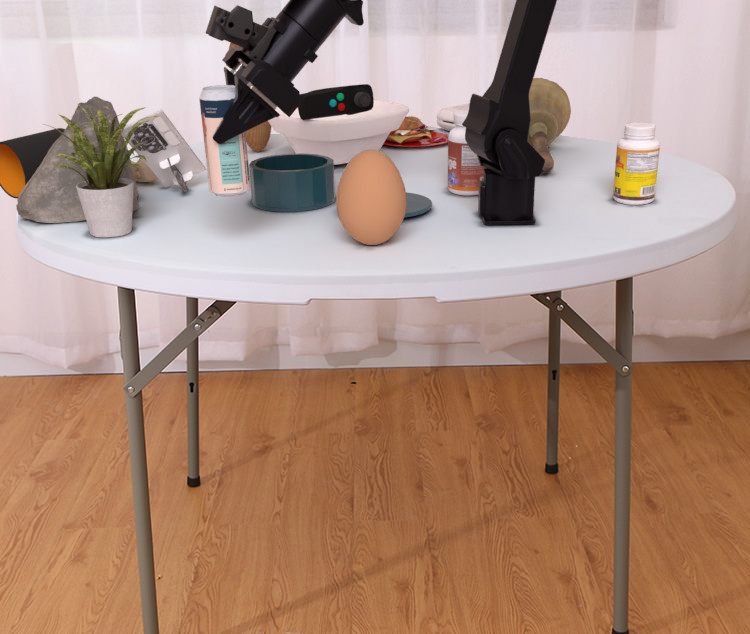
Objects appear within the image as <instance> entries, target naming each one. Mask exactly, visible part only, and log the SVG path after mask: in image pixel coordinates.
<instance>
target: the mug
mask: <svg viewBox="0 0 750 634" xmlns="http://www.w3.org/2000/svg"><path fill="white" fill-rule="evenodd" d="M56 129H58V130H59V131H61V132H62V133H63V132H64V130H65V129H66V128H63V127H57V128H56ZM56 129H54V128H52V129H49V130H44V131H40V132H36V133H31V134H28V135H23V136H18V137H15V138H10V139H7V140H2V141H0V188H1V190H3V192H4V193H5V194H6V195H8V196H9V197H10V198H13V199H18V197H19V195H20V193H21V191H22V190H23V188H24V186H25V185H26V184H27V182H28V181H29V180H30V179H31V178H32V176H33V174H34V173H35V172H36V170H37V168H38V167H39V166H40V165H41V163H42V161H43V159H44V158H45V156H46V155H47V153H48V151H49V149H50V148H51V147H52V145H53V144H54V142H55V141H56V140H57V139H58V138H59V137H60V136H61V135H62V134H61V133H60V132H59V131H58V130H56Z"/></svg>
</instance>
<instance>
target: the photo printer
mask: <svg viewBox="0 0 750 634" xmlns="http://www.w3.org/2000/svg"><path fill="white" fill-rule="evenodd" d="M469 105H470V102H469V103H465V104H459V105H454V106H447V107H444V108H441V109H440V110H438V112H437V113H436V124H437V126H438V127H440V128H441V129H442V130H444V131H448V132H450V131H451V130H452V129H453V128H455V126H456V125H455V124H454V121H453V120H454V113H455V112H457V111H462V110H469Z"/></svg>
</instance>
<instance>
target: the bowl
mask: <svg viewBox="0 0 750 634" xmlns="http://www.w3.org/2000/svg"><path fill="white" fill-rule="evenodd" d="M275 110H276V111H277V112H278V113H279V114H280V116H279V117H277V118H276V117H275V118H273V119H271V120H268V122H269V123H270V125H271V129H272V130H273V131H274V132H275V133H278V134H280V135H283V136H284V138H285V140H286V141H287V143H289V145H290V147H291V148H292V150H293V151H294V152H295V154H317V155H322V156H327V157H330V158H331V159H333V160H334V166H335V165H343V164H348V163H349V161H350V160H351V159H352V158H353V157H354V156H356V155H357V154H359V153H360V152H362V151H365V150H377V151H379V152H380V151H381V148H382V147H383V145H384V144H383V143H384V142H385V140H386V138H387V137H388V135H389V134H390V132H391V131H394V130H397V129H399V127H400V125H401V124H402V122H403V120H404V119H405V117H407V115H409V112H410V107H409V106H407V105H405V104H401V103H398V102H393V101H388V100H381V99H374V106H373V108H372V109H371V110H369V111H366V112H362V113H357V114H353V115H346V114H345V115H339V116H331V117H324V118H316V119H308V120H302V119H301V118H300V116H299V111H298V107H297V109H296V110H295V111H294V112H293V114H292V115H291V116H290V117H288V116H287V115H286V114H285V113H283V112H282V111H281V110H280V109H279V108H278V107H277V108H276V109H275Z"/></svg>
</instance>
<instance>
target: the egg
mask: <svg viewBox="0 0 750 634" xmlns="http://www.w3.org/2000/svg"><path fill="white" fill-rule="evenodd" d="M406 191H407V190H406V186H405V183H404V180H403V178H402V175H401V172H400V170H399V169H398V167H397V166H396V164H395V163H394V162H393V160H392V159H391V158H390V157H389V156H388V155H387V154H385V153H383V152H382V151H380V150H379V151H377V150H365V151H362V152H360V153H359V154H357V155H356V156H354V157H353V158H352V159H351V160H350V161H349V163H346V166H345V168H344V169H343V170H342V174H341V176H340V179H339V182H338V184H337V190H336V210H337V216H338V219H339V221H340V223H341V224H342V227H343V228H344V230H345V231H346V233H348V234H349V236H350V237H352V239H354V240H355V241H357V242H359V243H361V244H363V245H366V246H367V245H368V246H377V245H381V244H383V243H385V242H387V241H388V240H390V239H391V238H392V237H393V236H394V235H395V234H396V233H397V232H398V230H399V229H400V227H401V225H402V223H403V222H404V219H405V217H404V216H405V212H406V204H407V202H406Z"/></svg>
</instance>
